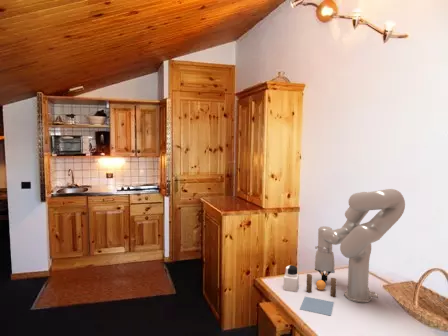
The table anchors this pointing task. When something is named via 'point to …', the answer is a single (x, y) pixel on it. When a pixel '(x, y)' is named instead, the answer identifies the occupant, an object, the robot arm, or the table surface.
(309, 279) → the post
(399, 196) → the robot arm
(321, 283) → the ball
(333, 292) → the post
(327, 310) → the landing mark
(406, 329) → the table surface
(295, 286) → the medicine bottle
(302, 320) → the table surface
